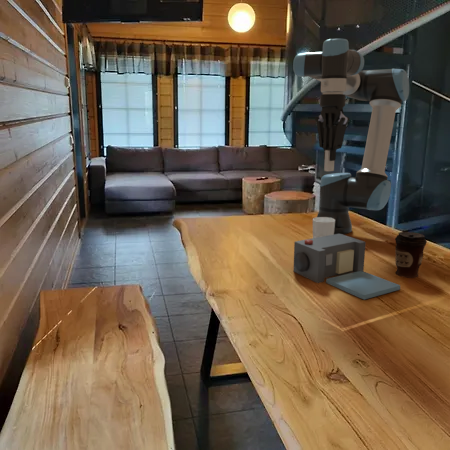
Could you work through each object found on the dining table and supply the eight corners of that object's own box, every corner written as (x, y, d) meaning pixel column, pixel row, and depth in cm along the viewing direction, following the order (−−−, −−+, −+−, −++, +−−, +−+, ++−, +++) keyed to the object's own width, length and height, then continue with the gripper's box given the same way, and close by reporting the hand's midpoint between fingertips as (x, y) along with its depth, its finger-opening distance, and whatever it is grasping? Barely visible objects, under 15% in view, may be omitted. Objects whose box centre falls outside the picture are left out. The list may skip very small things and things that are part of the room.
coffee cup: (407, 283, 132) (411, 239, 129) (385, 274, 139) (389, 232, 136) (428, 278, 136) (433, 235, 133) (405, 269, 143) (409, 229, 140)
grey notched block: (337, 263, 149) (339, 231, 146) (363, 273, 140) (365, 239, 137) (289, 273, 140) (291, 239, 137) (313, 285, 130) (315, 249, 128)
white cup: (309, 248, 165) (310, 221, 163) (313, 242, 172) (315, 216, 170) (331, 250, 162) (333, 223, 160) (335, 244, 169) (336, 218, 167)
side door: (360, 270, 137) (400, 285, 125) (360, 276, 138) (399, 292, 126) (326, 278, 131) (364, 295, 119) (325, 285, 131) (363, 302, 119)
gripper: (309, 94, 144) (306, 169, 150) (339, 93, 133) (334, 174, 139) (327, 94, 148) (324, 167, 154) (357, 93, 137) (352, 172, 143)
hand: (329, 170), depth 146 cm, fingers closed
